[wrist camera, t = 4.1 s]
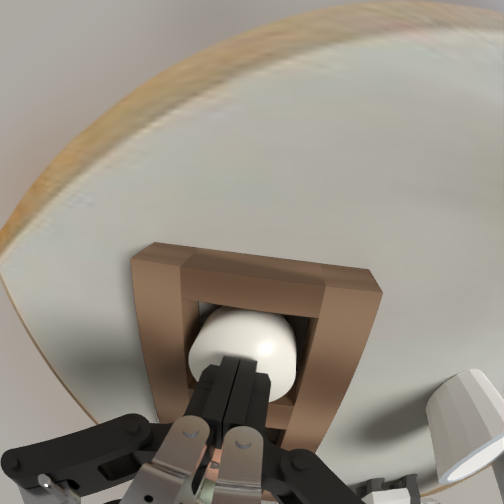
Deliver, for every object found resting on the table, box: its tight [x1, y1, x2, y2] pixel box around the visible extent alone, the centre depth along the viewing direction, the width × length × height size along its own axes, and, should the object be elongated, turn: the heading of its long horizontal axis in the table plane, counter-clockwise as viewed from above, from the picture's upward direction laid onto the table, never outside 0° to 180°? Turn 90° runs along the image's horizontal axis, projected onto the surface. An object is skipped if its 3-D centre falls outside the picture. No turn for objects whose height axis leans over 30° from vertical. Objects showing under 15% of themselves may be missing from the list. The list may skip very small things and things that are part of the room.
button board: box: [130, 242, 383, 502], centre depth 17 cm, size 26×11×2 cm, turn 175°
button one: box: [189, 306, 297, 402], centre depth 13 cm, size 5×5×2 cm
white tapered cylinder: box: [425, 369, 504, 484], centre depth 12 cm, size 7×7×7 cm
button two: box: [199, 478, 216, 504], centre depth 17 cm, size 5×5×2 cm
